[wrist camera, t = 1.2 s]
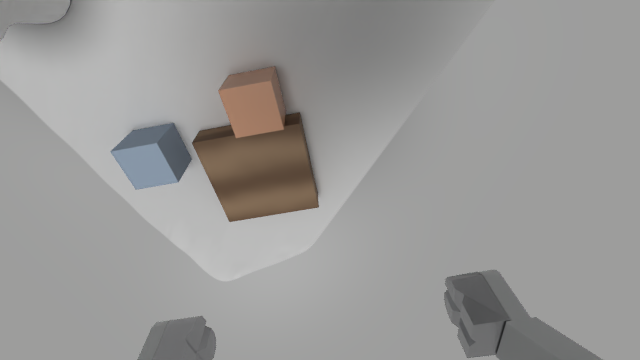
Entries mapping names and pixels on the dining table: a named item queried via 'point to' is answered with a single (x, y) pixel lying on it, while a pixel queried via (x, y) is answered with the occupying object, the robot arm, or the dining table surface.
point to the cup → (30, 12)
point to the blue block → (152, 156)
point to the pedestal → (259, 170)
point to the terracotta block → (253, 102)
